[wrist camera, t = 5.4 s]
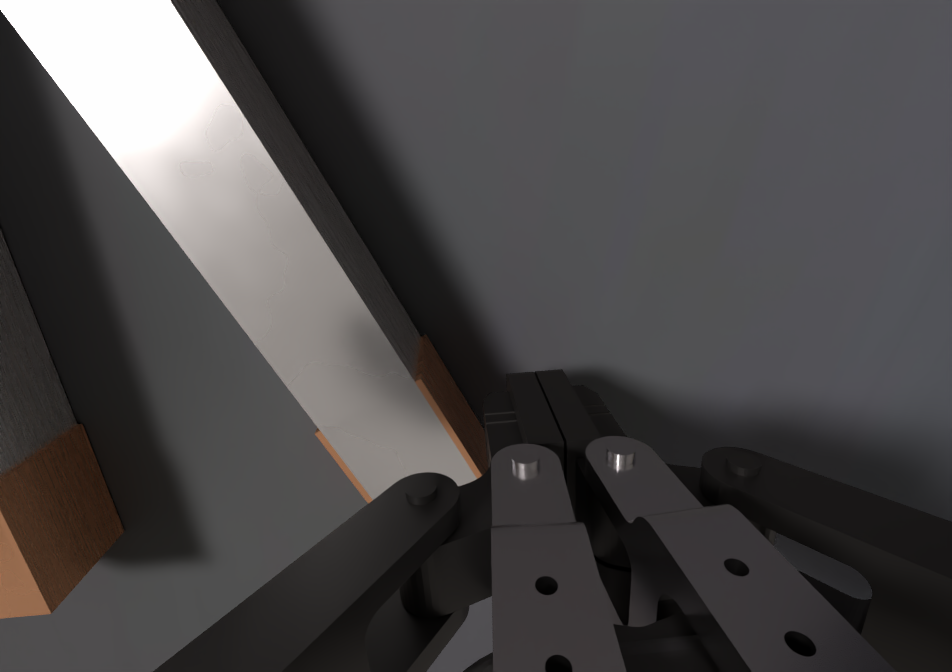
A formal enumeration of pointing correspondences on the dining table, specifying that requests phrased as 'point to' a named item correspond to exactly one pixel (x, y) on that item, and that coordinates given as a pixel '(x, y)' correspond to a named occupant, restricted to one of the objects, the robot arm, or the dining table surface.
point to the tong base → (42, 469)
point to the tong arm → (259, 226)
